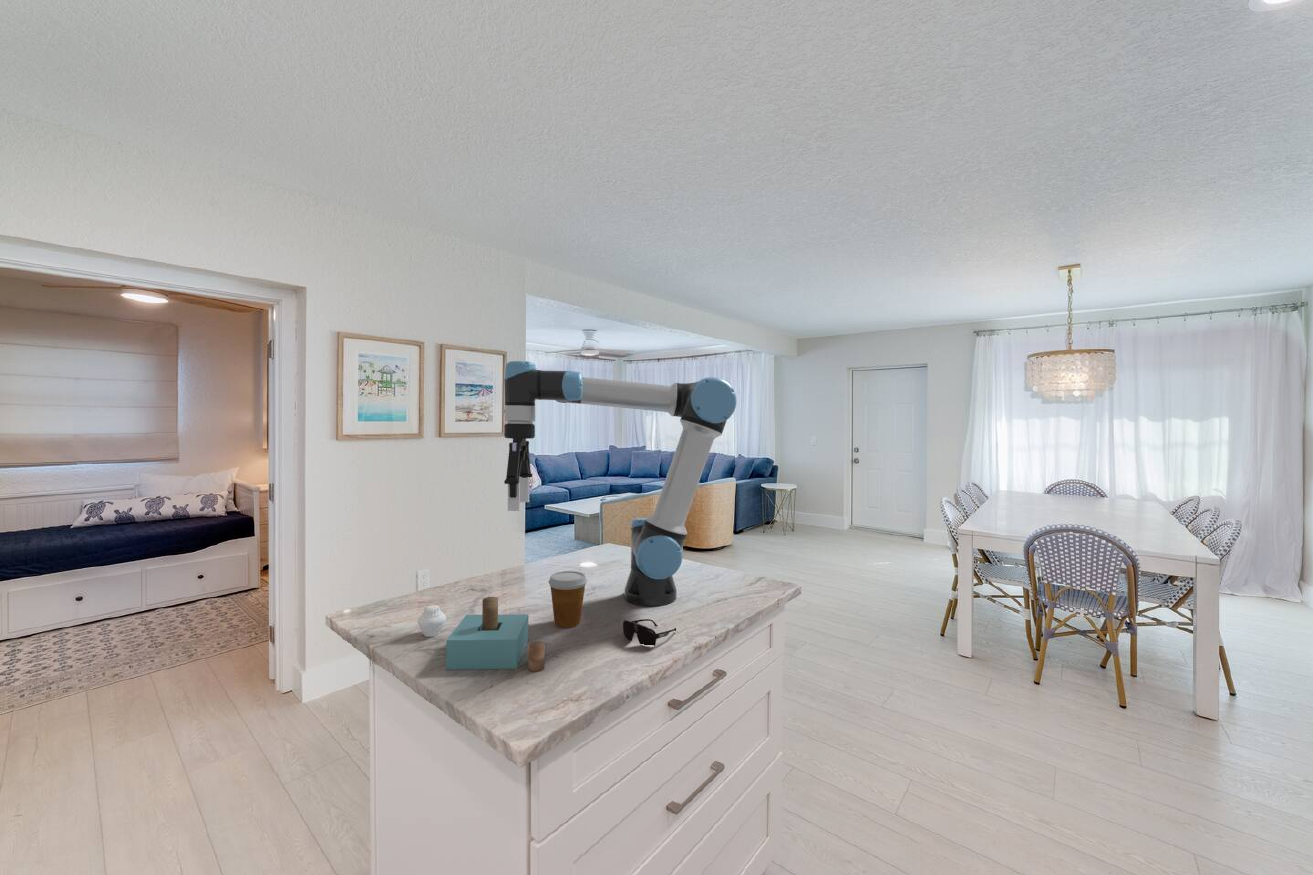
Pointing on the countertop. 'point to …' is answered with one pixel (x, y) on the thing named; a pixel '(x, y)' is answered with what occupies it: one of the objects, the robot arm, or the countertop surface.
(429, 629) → the white ribbed jar
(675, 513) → the robot arm
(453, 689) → the countertop surface
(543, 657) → the short pin
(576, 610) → the disposable coffee cup
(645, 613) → the countertop surface
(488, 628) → the tall pin
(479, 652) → the hole block
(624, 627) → the sunglasses
